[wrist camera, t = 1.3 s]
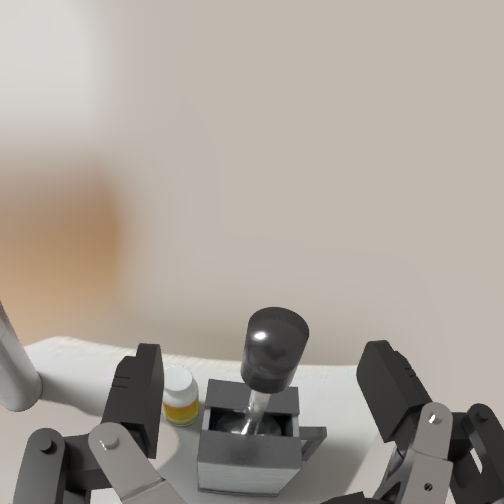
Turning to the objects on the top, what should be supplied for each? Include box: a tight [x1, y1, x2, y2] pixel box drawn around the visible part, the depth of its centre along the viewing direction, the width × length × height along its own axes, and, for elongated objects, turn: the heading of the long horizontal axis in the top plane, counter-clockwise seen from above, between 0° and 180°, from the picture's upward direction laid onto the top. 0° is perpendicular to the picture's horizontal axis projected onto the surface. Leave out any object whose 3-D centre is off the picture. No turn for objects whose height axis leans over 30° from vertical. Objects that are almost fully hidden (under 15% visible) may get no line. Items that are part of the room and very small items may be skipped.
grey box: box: [197, 379, 327, 497], centre depth 31 cm, size 13×10×14 cm
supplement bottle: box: [161, 365, 198, 426], centre depth 38 cm, size 5×5×10 cm
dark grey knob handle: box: [216, 307, 309, 436], centre depth 25 cm, size 7×7×18 cm
